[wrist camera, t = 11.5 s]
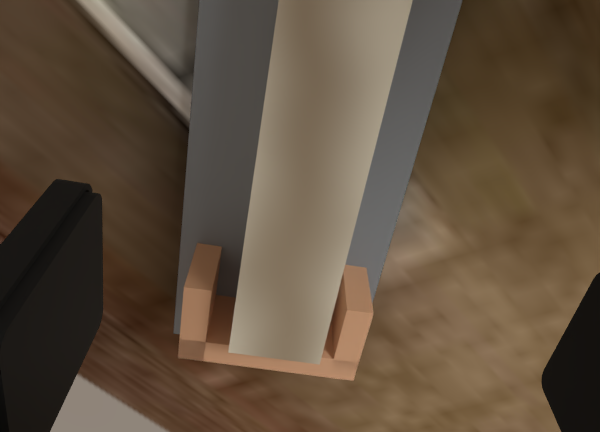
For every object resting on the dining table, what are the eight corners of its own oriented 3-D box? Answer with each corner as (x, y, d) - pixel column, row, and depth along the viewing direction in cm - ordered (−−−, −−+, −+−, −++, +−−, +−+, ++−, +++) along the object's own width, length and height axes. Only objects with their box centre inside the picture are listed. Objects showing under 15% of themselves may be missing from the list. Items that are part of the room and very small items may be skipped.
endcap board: (560, -378, 18) (642, -461, 14) (354, 339, 33) (361, 408, 29) (241, -455, 17) (220, -568, 13) (178, 315, 32) (159, 382, 28)
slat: (443, -246, 18) (485, -286, 14) (317, 293, 29) (319, 364, 25) (320, -274, 18) (325, -322, 14) (239, 282, 29) (228, 352, 25)
